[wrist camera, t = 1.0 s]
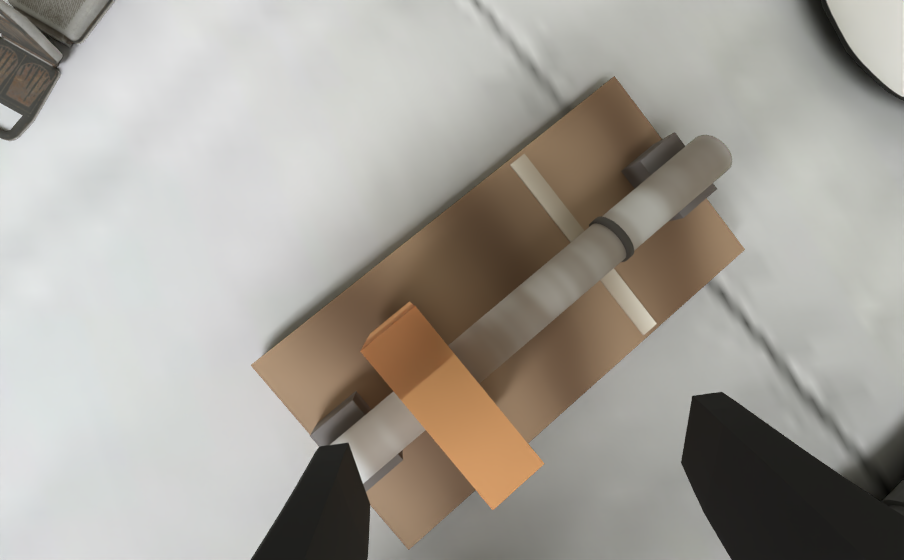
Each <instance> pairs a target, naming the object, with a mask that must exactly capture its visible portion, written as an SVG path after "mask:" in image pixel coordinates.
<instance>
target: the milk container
mask: <svg viewBox="0 0 904 560" xmlns="http://www.w3.org/2000/svg"><path fill="white" fill-rule="evenodd" d="M821 2H822V7H823V9H824V11H825V13H826V15H827V16H828V18H829V20H830V22H831V24H832V25H833V27H834V29H835V31H836V33H837V35H838V37H839V39H840V41H841V43H842V45H843V47H844V48H845V50H846V52H847V53H848V54H849V55H850V56H851V57H852V58H853V59H854V60H855V61H856V62H857V64H858V65H859V66H860V67H861V68H862V69H863V70H864V71H865V72H866V73H867V74H868V75H870V76H871V77H872V78H873V79H874V80H875V81H876V82H877V83H878V84H879V85H880V86H882V87H883V88H884V89H885V90H886V91H888V92H889V93H891V94H893V95H894V96H896V97H898V98H900V99H902V100H904V0H821Z"/></svg>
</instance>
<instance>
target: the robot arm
mask: <svg viewBox="0 0 904 560" xmlns="http://www.w3.org/2000/svg"><path fill="white" fill-rule="evenodd" d="M681 463H682V466H683V468H684V470H685V472H686V475H687V477H688V479H689V482H690V484H691V486H692V488H693V491H694V493H695V495H696V497H697V499H698V501H699V503H700V505H701V507H702V510H703V512H704V514H705V515H706V517H707V519H708V520H709V522H710V524H711V526H712V527H713V529H714V531H715V532H716V534H717V536H718V537H719V539H720V541H721V543H722V544H723V546H724V548H725V549H726V551H727V553H728V554H729V556H730V558H731V559H732V560H904V516H903V515H902V514H900V513H898V512H897V511H895V510H894V509H892V508H890V507H889V506H887V505H886V504H884V503H883V502H881V501H879V500H878V499H876V498H875V497H873V496H872V495H870V494H869V493H867V492H866V491H864V490H862V489H861V488H859V487H858V486H856V485H855V484H853V483H852V482H850V481H849V480H847V479H846V478H844V477H843V476H841V475H840V474H838V473H837V472H835V471H834V470H832V469H831V468H830V467H828V466H827V465H825V464H824V463H822V462H821V461H819V460H818V459H816V458H815V457H814V456H812V455H811V454H809V453H808V452H806V451H805V450H803V449H802V448H801V447H799V446H798V445H796V444H795V443H794V442H792V441H791V440H789V439H788V438H786V437H785V436H784V435H782V434H781V433H779V432H778V431H777V430H775V429H774V428H772V427H771V426H770V425H768V424H767V423H765V422H764V421H763V420H761V419H760V418H758V417H757V416H756V415H754V414H753V413H751V412H750V411H749V410H747V409H746V408H744V407H743V406H742V405H740V404H739V403H737V402H736V401H734V400H733V399H732V398H730V397H729V396H727V395H726V394H724V393H723V392H718V393H711V394H703V395H696V396H692V401H691V407H690V413H689V419H688V425H687V431H686V437H685V443H684V449H683V455H682V461H681ZM369 521H370V502H369V499H368V496H367V494H366V491H365V488H364V485H363V482H362V479H361V477H360V474H359V471H358V468H357V465H356V462H355V460H354V457H353V454H352V451H351V448H350V445H349V443H341V444H334V445H326V446H320V447H319V448H318V449H317V451H316V452H315V454H314V456H313V457H312V459H311V461H310V463H309V464H308V466H307V468H306V470H305V471H304V473H303V475H302V477H301V478H300V480H299V482H298V484H297V485H296V487H295V489H294V490H293V492H292V494H291V495H290V497H289V499H288V501H287V502H286V504H285V506H284V507H283V509H282V511H281V512H280V514H279V516H278V517H277V519H276V520H275V522H274V524H273V525H272V527H271V528H270V530H269V532H268V533H267V535H266V536H265V538H264V540H263V541H262V543H261V544H260V546H259V548H258V549H257V551H256V552H255V554H254V555H253V557H252V558H251V560H367V558H368V543H369Z"/></svg>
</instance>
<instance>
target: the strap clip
mask: <svg viewBox="0 0 904 560" xmlns="http://www.w3.org/2000/svg"><path fill="white" fill-rule="evenodd" d="M8 1H9V3H10V4H11V5H12V6H13V7H14V8H13V7H11V6H10V5H8V4H7V3H5V2H4V1H3V0H0V33H1V35H2V37H4V38H1V37H0V103H1V104H3V105H5V106H7V107H9V108H10V109H12V110H14V111H16V112H18V113H19V114H21V115H23V116H22V117H21V118H20V120H19V121H18V122H17V123H16V124H15V125H14V126H13V128H12V129H11V130H9V131H4V130H2V129H0V138H2V139H4V140H8V141H13V140H16V139H17V138H19V137H20V136H21V135H22V134H23V133H24V132H25V131H26V130H27V129H28V128H29V127H30V125H31V124H32V123H33V122H34V121H35V119H36V117H37V116H38V114H39V112H40V110H41V109H42V107H43V105H44V104H45V102H46V100H47V98H48V97H49V95H50V93H51V91H52V90H53V88H54V86H55V84H56V83H57V81H58V79H59V77H60V72H59V71H58V70H57V69H56V67H57V66H58V64H59V61H60V60H61V58H62V56H63V55H62V53H61V52H60V51H59V50H58V49H57V48H56V47H55V46H54V45H53V44H52V43H51V42H50V41H49V40H48V39H47V38H46V37H45V36H44V35H43V34H42V33H41V32H40V31H42V32H44V33H46V34H47V35H49V36H51V37H53V38H54V39H56V40H58V41H60V42H61V43H63V44H65V45H67V46H68V47H71V45H72V44H73V43H75V44H82V43H83V42H84V41H85V40H86V38H87V37H88V36H89V34H90V33H91V32H92V31H93V29H94V28H95V27H96V25H97V24H98V23H99V21H100V20H101V19H102V18H103V16H104V15H105V14H106V12H107V11H108V10H109V8H110V7H111V6H112V5H113V3H114V1H115V0H8ZM38 29H39V30H40V31H39V30H38Z"/></svg>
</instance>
